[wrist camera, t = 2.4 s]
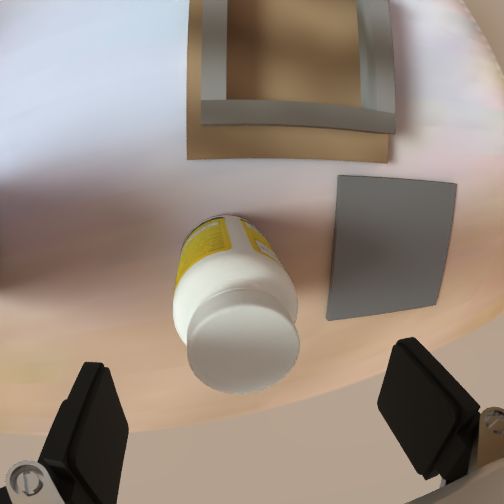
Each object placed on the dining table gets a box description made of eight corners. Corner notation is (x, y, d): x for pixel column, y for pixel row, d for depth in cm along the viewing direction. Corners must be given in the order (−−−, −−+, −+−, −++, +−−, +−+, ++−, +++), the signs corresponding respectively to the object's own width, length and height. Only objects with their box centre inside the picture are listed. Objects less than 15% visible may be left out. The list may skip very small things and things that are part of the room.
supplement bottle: (176, 290, 20) (161, 400, 11) (187, 207, 18) (171, 271, 9) (258, 301, 21) (296, 408, 12) (277, 221, 20) (339, 292, 10)
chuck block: (193, -45, 13) (193, -69, 10) (371, -23, 15) (391, -39, 12) (188, 159, 18) (184, 161, 15) (379, 162, 19) (405, 166, 16)
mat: (337, 175, 19) (340, 176, 19) (453, 183, 20) (456, 184, 20) (326, 318, 22) (328, 321, 22) (433, 302, 24) (435, 305, 23)
